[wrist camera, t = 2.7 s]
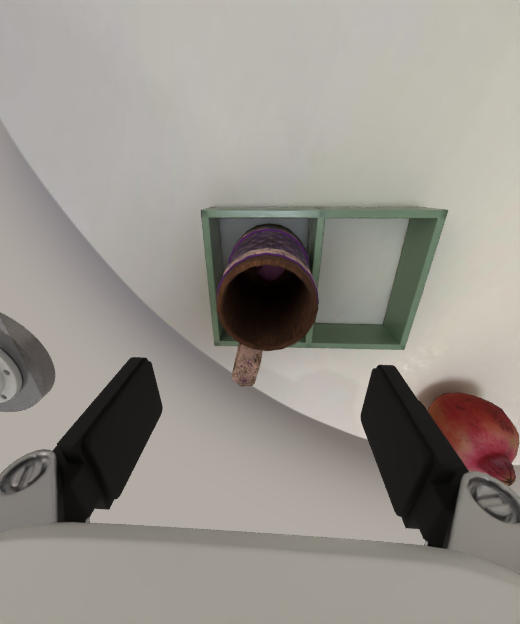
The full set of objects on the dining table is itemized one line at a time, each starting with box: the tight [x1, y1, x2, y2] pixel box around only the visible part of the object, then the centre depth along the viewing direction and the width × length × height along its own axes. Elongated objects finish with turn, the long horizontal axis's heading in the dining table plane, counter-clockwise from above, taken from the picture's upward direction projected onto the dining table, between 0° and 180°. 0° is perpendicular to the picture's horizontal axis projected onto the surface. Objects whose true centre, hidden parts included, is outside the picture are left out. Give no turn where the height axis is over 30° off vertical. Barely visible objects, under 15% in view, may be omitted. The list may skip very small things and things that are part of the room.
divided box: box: [201, 207, 448, 350], centre depth 23 cm, size 19×13×4 cm
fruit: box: [428, 393, 519, 486], centre depth 27 cm, size 8×8×10 cm
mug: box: [216, 224, 319, 386], centre depth 20 cm, size 10×7×12 cm
